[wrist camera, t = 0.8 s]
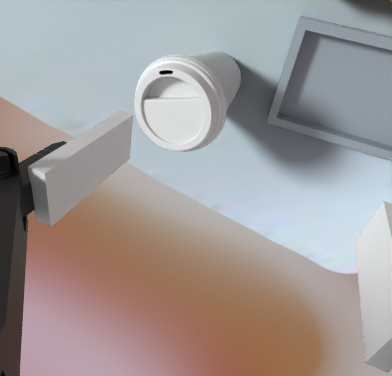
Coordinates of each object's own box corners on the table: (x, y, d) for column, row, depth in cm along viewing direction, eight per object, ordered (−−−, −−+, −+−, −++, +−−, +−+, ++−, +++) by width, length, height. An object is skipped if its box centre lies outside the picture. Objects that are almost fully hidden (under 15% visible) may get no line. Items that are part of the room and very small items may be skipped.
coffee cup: (264, 54, 39) (235, 81, 27) (238, 124, 44) (203, 173, 32) (193, 27, 40) (134, 42, 28) (176, 98, 46) (120, 136, 34)
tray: (301, 16, 36) (299, 17, 34) (457, 51, 33) (465, 55, 31) (269, 116, 42) (266, 123, 40) (395, 154, 39) (399, 162, 37)
